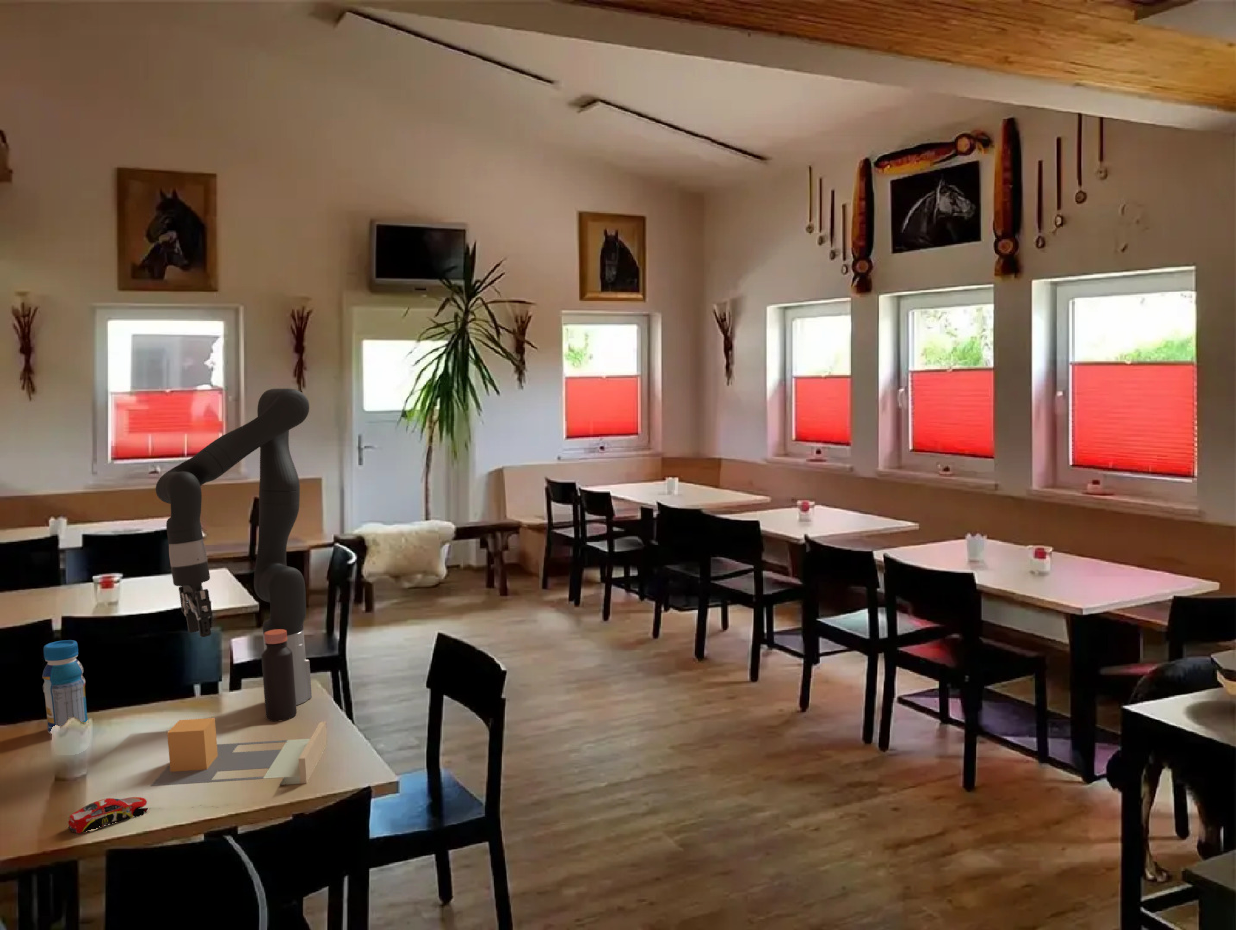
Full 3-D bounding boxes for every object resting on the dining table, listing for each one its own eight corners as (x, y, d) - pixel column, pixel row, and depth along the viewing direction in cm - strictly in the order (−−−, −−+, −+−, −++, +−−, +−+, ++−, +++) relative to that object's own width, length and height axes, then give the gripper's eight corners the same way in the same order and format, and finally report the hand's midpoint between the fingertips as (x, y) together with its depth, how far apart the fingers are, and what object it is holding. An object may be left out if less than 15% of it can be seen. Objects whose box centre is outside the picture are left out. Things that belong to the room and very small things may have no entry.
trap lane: (151, 793, 195) (148, 768, 195) (186, 753, 215) (184, 730, 215) (306, 783, 198) (304, 758, 197) (327, 744, 217) (325, 721, 217)
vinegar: (266, 713, 238) (260, 630, 236) (296, 709, 240) (291, 626, 238) (265, 723, 232) (259, 637, 230) (296, 719, 234) (290, 634, 232)
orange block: (170, 771, 202) (167, 732, 201) (182, 758, 209) (179, 720, 208) (206, 769, 202) (203, 730, 201) (217, 755, 209) (214, 718, 208)
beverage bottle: (71, 737, 227) (63, 649, 225) (38, 735, 229) (29, 648, 227) (97, 723, 235) (89, 639, 233) (65, 722, 237) (57, 638, 235)
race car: (142, 805, 191) (141, 785, 191) (153, 814, 187) (151, 793, 187) (65, 829, 182) (64, 807, 182) (75, 839, 178) (73, 816, 178)
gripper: (216, 560, 221) (227, 633, 222) (197, 556, 232) (207, 626, 233) (180, 567, 216) (191, 642, 218) (162, 563, 228) (173, 634, 229)
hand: (199, 634), depth 225 cm, fingers open, 8 cm apart
